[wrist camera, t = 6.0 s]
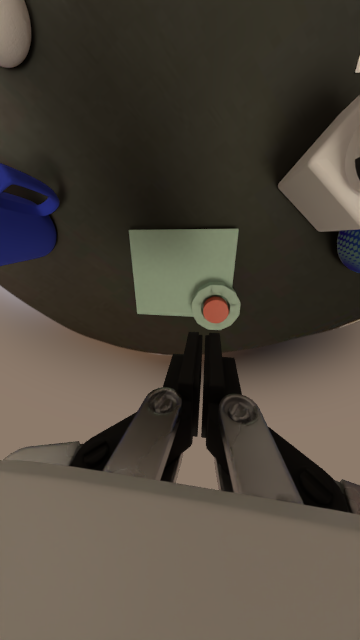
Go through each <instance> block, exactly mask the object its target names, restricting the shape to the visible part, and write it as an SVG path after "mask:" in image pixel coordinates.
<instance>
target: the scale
mask: <svg viewBox="0 0 360 640" xmlns="http://www.w3.org/2000/svg"><path fill="white" fill-rule="evenodd" d="M238 231H239V229H169V230H129V238H130V248H131V257H132V267H133V276H134V286H135V296H136V305H137V314H151V315H171V316H191V317H194V318H195V320H196V321H197V323H198V324H200V325H201V326H203V327H205V328H206V329H211V330H221V329H223V328H226V327H228V326H230V325H232V324H233V322H234V321H235V320H236V319H237V317H238V316H239V312H240V305H241V304H240V301H239V299H238V297H237V295H236V293H235V291H234V289H233V288H232V285H233V276H234V267H235V258H236V249H237V240H238ZM214 296H218V297H221V298H223V299H224V300H225V301H226V303H227V306H228V309H229V313H228V316H227V318H226V319H225V320H224V321H223V322H220V323H211V322H209V321H207V320H206V319H205V317H204V315H203V306H204V303H205V301H206V300H207V299H209V298H210V297H214Z"/></svg>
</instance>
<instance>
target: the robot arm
mask: <svg viewBox="0 0 360 640" xmlns="http://www.w3.org/2000/svg"><path fill="white" fill-rule="evenodd" d="M201 361H202V335H199V332H189V334H188V338H187V343H186V348H185V352H184V355H183V354H173V356H172V359H171V362H170V365H169V369H168V372H167V375H166V378H165V382H164V385H163V388H158V389H155V390H153V391H152V392H150V393H149V394H148V395H147V396H146V398H145V400H144V401H143V403H142V405H141V407H140V408H139V410H138V411H137V412H136V413H134V414H132V415H131V416H129V417H127V418H125V419H124V420H122V421H120V422H119V423H117V424H115V425H114V426H111V427H110V428H108V429H106V430H104V431H103V432H101V433H99V434H98V435H96V436H94V437H92V438H91V439H90V440H88V441H87V442H85V443H84V444H80V443H79V441H77V442H68V443H59V444H49V445H40V446H30V447H25V448H21V449H19V450H17V451H15V452H13V453H11V454H10V455H9V456H7V457H6V458H5V459H3V460H0V640H360V485H357V484H354V483H351V482H349V481H345V480H343V479H342V480H341V481H340V482H338V481H335V480H334V479H333V478H332V477H331V476H330V475H328V474H327V473H326V472H325V471H324V470H323V469H322V468H320V467H319V466H318V465H317V464H315V463H314V462H313V461H311V460H310V459H309V458H307V457H306V456H305V455H304V454H302V453H301V452H300V451H299V450H297V449H296V448H295V447H294V446H292V445H291V444H290V443H288V442H287V441H286V440H285V439H283V438H282V437H281V436H279V435H278V434H277V433H276V432H274V431H273V430H272V429H271V428H269V427H268V426H267V424H266V422H265V420H264V418H263V415H262V413H261V411H260V409H259V407H258V406H257V404H256V403H255V402H254V401H253V400H251V399H250V398H248V397H246V396H243V395H242V393H241V388H240V384H239V378H238V374H237V369H236V364H235V359H234V358H228V357H222V352H221V342H220V333H209V335H206V336H205V360H204V385H203V409H202V410H203V411H202V434H201V437H203V438H206V446H207V449H208V450H209V451H210V452H211V454H212V455H213V456H214V459H215V460H214V461H215V469H216V475H217V482H218V487H219V490H213V489H207V488H201V487H195V486H189V485H183V484H176V479H177V476H178V472H179V468H180V465H181V461H182V455H183V452H184V451H185V450H186V449H188V448H189V447H190V446H191V444H192V439H193V436H196V437H197V434H198V418H199V401H200V385H201Z"/></svg>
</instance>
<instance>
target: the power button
mask: <svg viewBox="0 0 360 640" xmlns="http://www.w3.org/2000/svg"><path fill="white" fill-rule="evenodd" d="M228 313H229V309H228V306H227V303H226V301H225V300H224V299H223V298H221V297H218V296H214V297H210V298H209V299H207V300H206V301H205V303H204V306H203V315H204V317H205V319H206V320H207V321H209V322H211V323H220V322H223V321H224V320H225V319H226V318H227V316H228Z"/></svg>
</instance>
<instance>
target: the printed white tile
mask: <svg viewBox="0 0 360 640" xmlns="http://www.w3.org/2000/svg"><path fill="white" fill-rule="evenodd" d="M359 72H360V56H359V60H358V64H357V67H356V71H355V73H359Z"/></svg>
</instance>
